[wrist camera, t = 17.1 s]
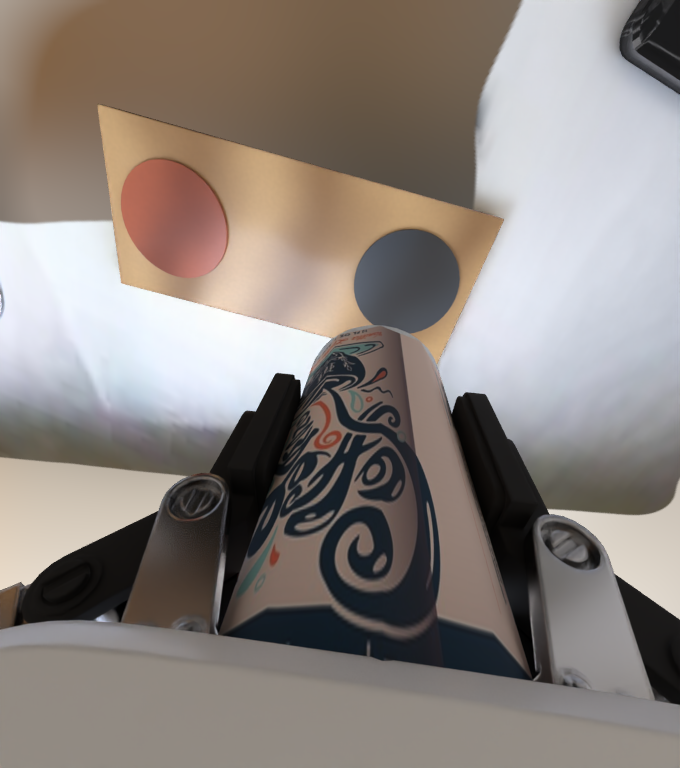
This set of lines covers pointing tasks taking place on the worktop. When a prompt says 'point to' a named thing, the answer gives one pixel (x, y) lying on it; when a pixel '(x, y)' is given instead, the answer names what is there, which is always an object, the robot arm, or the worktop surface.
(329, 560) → the beer can
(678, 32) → the phone
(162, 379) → the worktop surface
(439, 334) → the board
